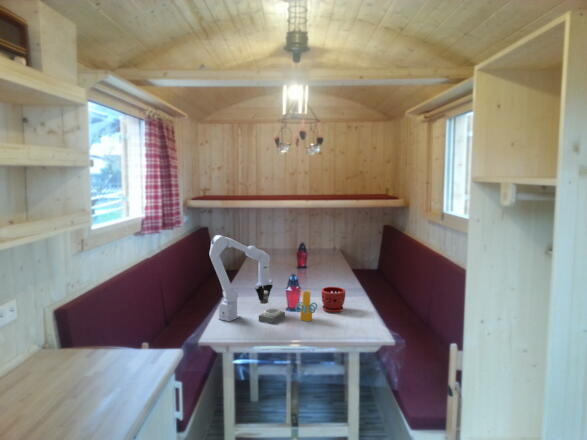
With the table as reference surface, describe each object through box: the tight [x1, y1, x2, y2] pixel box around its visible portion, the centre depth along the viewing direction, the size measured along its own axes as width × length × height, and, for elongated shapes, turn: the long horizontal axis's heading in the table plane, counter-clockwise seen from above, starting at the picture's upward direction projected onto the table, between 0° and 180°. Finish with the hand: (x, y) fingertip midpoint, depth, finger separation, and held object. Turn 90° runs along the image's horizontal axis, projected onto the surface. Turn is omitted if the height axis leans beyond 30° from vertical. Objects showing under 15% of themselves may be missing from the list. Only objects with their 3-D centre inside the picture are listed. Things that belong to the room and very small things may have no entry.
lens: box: [259, 291, 269, 305], centre depth 235 cm, size 5×5×6 cm
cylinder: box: [294, 289, 318, 322], centre depth 225 cm, size 12×10×15 cm
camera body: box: [258, 308, 286, 325], centre depth 226 cm, size 12×8×4 cm
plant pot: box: [321, 286, 346, 314], centre depth 240 cm, size 13×13×12 cm
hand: (263, 299), depth 235 cm, fingers closed on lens, 5 cm apart
